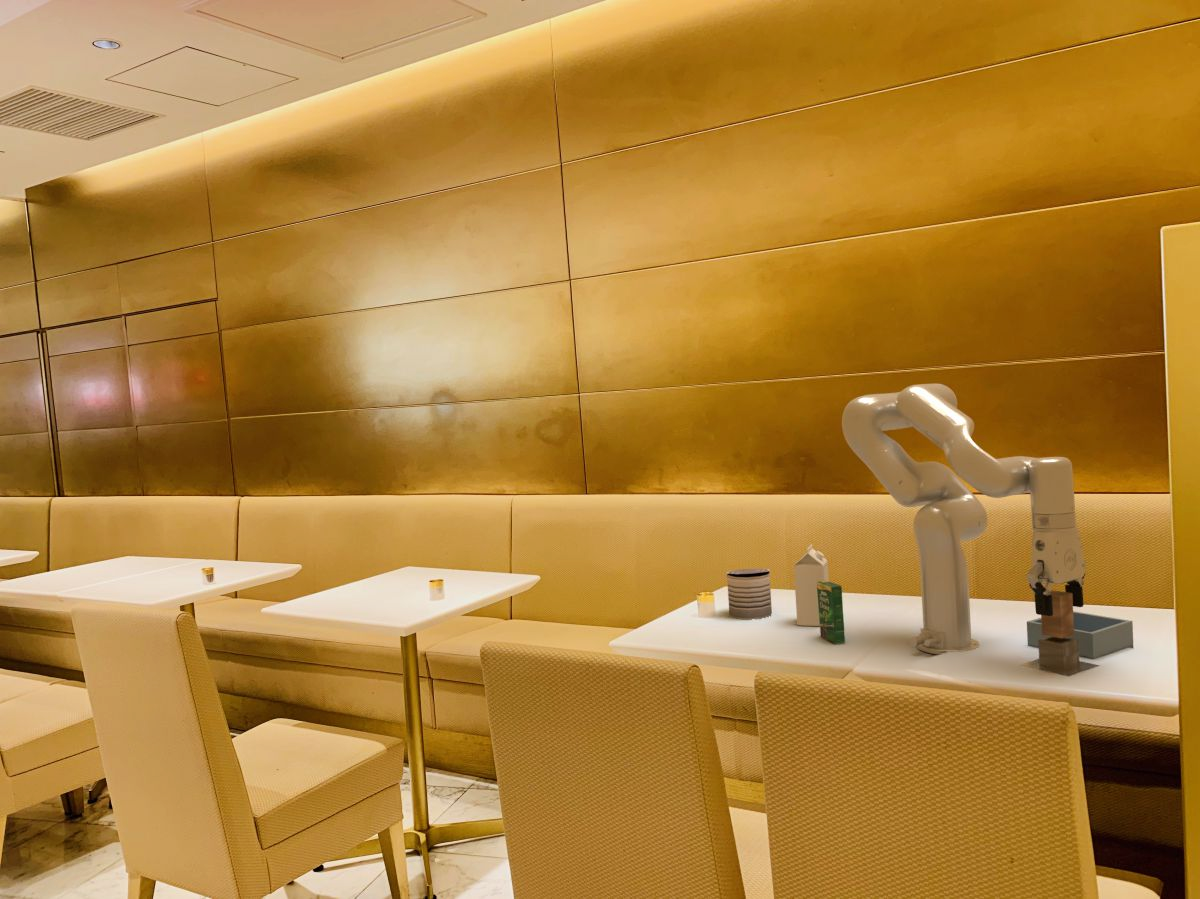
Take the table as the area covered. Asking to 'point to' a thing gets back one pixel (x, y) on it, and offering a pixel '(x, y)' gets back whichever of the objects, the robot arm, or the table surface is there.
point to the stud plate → (1068, 672)
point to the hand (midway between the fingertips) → (1059, 610)
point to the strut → (1059, 634)
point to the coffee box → (831, 611)
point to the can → (749, 594)
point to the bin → (1091, 634)
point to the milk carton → (809, 586)
